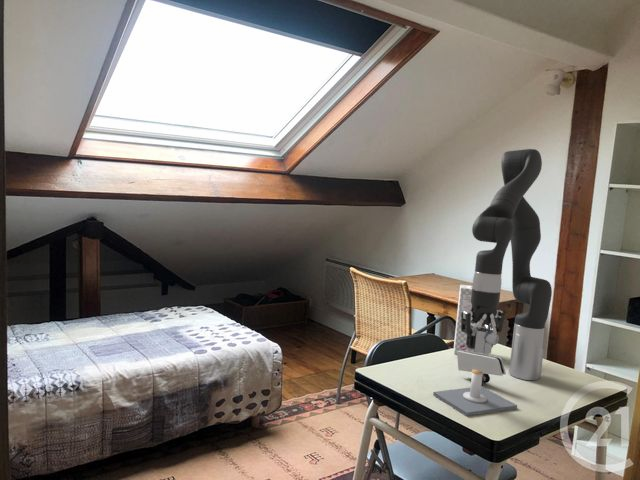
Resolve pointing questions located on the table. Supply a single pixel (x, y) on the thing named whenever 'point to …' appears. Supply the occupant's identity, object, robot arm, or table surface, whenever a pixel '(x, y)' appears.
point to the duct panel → (474, 398)
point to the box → (463, 305)
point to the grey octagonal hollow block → (484, 340)
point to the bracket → (480, 364)
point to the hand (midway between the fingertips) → (479, 347)
